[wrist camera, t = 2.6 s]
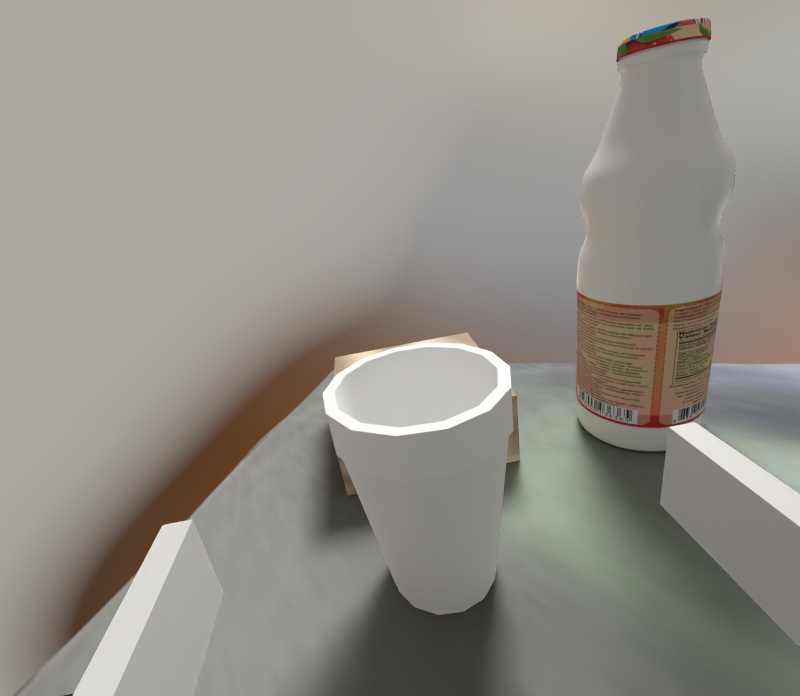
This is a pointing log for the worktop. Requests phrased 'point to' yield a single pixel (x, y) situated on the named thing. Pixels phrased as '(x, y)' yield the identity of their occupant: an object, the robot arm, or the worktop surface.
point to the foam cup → (428, 464)
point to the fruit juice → (652, 244)
